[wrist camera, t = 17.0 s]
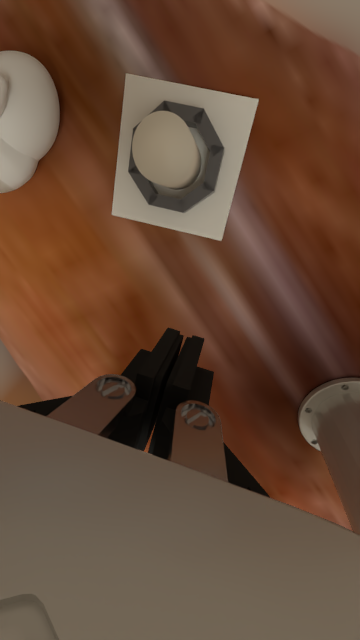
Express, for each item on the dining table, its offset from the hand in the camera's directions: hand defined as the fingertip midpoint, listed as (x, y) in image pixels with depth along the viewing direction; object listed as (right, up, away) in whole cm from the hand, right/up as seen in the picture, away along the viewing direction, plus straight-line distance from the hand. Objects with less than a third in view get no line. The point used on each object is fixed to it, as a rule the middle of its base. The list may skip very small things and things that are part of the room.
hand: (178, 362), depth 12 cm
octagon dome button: (0, +19, +17) cm, 25 cm away
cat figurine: (-17, +22, +19) cm, 34 cm away
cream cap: (0, +18, +16) cm, 24 cm away
